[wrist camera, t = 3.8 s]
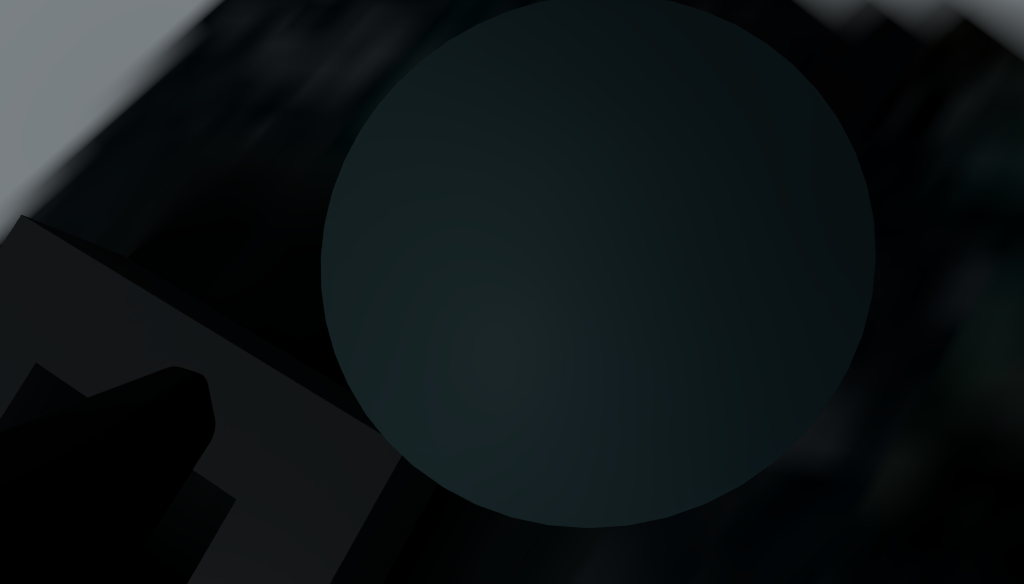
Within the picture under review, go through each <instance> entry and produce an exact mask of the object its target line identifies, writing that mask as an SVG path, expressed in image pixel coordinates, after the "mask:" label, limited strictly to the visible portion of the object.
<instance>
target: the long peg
mask: <svg viewBox="0 0 1024 584" xmlns="http://www.w3.org/2000/svg"><path fill="white" fill-rule="evenodd" d="M875 262H876V251H875V230H874V218H873V213H872V208H871V203H870V198H869V193H868V188H867V184H866V181H865V178H864V175H863V173H862V170H861V167H860V164H859V161H858V158H857V156H856V153H855V150H854V148H853V146H852V144H851V143H850V141H849V139H848V137H847V135H846V133H845V131H844V129H843V127H842V125H841V123H840V122H839V120H838V118H837V117H836V115H835V114H834V113H833V111H832V110H831V108H830V107H829V106H828V104H827V103H826V101H825V100H824V99H823V97H822V96H821V94H820V93H819V92H818V90H817V89H816V88H815V87H814V86H813V85H812V84H811V83H810V82H809V81H808V80H807V79H806V78H805V77H804V76H803V75H802V73H801V72H800V71H799V70H798V69H797V68H796V67H795V66H794V65H793V64H792V63H790V62H789V61H788V60H787V59H785V58H784V57H783V56H782V55H780V54H779V53H778V52H777V51H775V50H774V49H773V48H772V47H770V46H769V45H768V44H767V43H765V42H763V41H762V40H760V39H759V38H757V37H755V36H754V35H752V34H750V33H749V32H747V31H745V30H744V29H742V28H740V27H739V26H737V25H735V24H733V23H730V22H728V21H726V20H724V19H721V18H719V17H717V16H715V15H712V14H710V13H708V12H706V11H702V10H699V9H696V8H692V7H689V6H686V5H683V4H679V3H676V2H673V1H667V0H548V1H542V2H538V3H534V4H531V5H528V6H524V7H521V8H518V9H514V10H511V11H508V12H505V13H503V14H501V15H498V16H496V17H494V18H491V19H489V20H487V21H484V22H482V23H480V24H477V25H476V26H474V27H472V28H470V29H469V30H467V31H465V32H463V33H462V34H460V35H458V36H456V37H455V38H453V39H451V40H449V41H448V42H446V43H445V44H444V45H442V46H441V47H440V48H438V49H437V50H435V51H434V52H433V53H431V54H430V55H429V56H427V57H426V58H424V59H423V60H422V61H421V62H420V63H419V64H417V65H416V66H415V67H414V68H413V69H412V70H411V71H410V72H409V73H408V74H407V75H405V76H404V77H403V78H402V79H401V80H400V81H399V82H398V83H397V84H396V85H395V86H394V88H393V89H392V90H391V91H390V92H389V93H388V95H387V96H386V97H385V98H384V99H383V100H382V101H381V103H380V104H379V105H378V106H377V107H376V109H375V110H374V112H373V113H372V115H371V116H370V118H369V119H368V121H367V122H366V124H365V125H364V126H363V128H362V129H361V131H360V132H359V134H358V136H357V138H356V140H355V142H354V143H353V145H352V147H351V149H350V151H349V153H348V155H347V157H346V159H345V161H344V163H343V166H342V168H341V171H340V173H339V176H338V179H337V181H336V184H335V187H334V189H333V192H332V196H331V200H330V204H329V208H328V212H327V216H326V220H325V225H324V234H323V243H322V251H321V290H322V297H323V304H324V312H325V319H326V324H327V327H328V331H329V334H330V338H331V342H332V345H333V349H334V352H335V355H336V358H337V360H338V362H339V365H340V367H341V369H342V372H343V374H344V376H345V379H346V381H347V383H348V385H349V387H350V389H351V390H352V392H353V394H354V395H355V397H356V399H357V400H358V402H359V404H360V405H361V407H362V409H363V410H364V412H365V414H366V415H367V416H368V418H369V419H370V420H371V421H372V423H373V424H374V425H375V426H376V428H377V429H378V430H379V431H380V433H381V434H382V435H383V436H384V438H385V439H386V440H387V441H388V442H389V443H390V444H391V445H392V446H393V447H394V448H395V449H396V450H397V451H398V452H399V453H400V454H401V455H402V456H404V457H405V458H406V459H407V460H408V461H409V462H410V463H411V464H412V465H413V466H414V467H416V468H417V469H418V470H420V471H421V472H423V473H424V474H425V475H427V476H428V477H430V478H431V479H432V480H434V481H435V482H437V483H438V484H439V485H441V486H442V487H444V488H446V489H448V490H450V491H451V492H453V493H455V494H457V495H459V496H461V497H463V498H465V499H467V500H469V501H471V502H472V503H474V504H476V505H479V506H482V507H485V508H488V509H490V510H493V511H496V512H499V513H501V514H504V515H507V516H510V517H513V518H518V519H523V520H527V521H532V522H537V523H541V524H546V525H555V526H568V527H582V528H594V527H610V526H626V525H632V524H637V523H642V522H647V521H652V520H656V519H661V518H666V517H669V516H672V515H675V514H678V513H681V512H684V511H686V510H689V509H692V508H695V507H698V506H701V505H703V504H706V503H708V502H710V501H712V500H714V499H716V498H717V497H719V496H721V495H723V494H725V493H727V492H729V491H731V490H733V489H735V488H737V487H739V486H741V485H742V484H744V483H745V482H746V481H748V480H749V479H751V478H752V477H754V476H755V475H756V474H758V473H759V472H761V471H762V470H763V469H765V468H766V467H768V466H769V465H771V464H772V463H773V462H775V461H776V460H777V459H778V458H779V457H780V456H781V455H782V454H783V453H784V452H785V451H786V450H787V449H788V448H789V447H791V446H792V445H793V444H794V443H795V442H796V441H797V440H798V439H799V438H800V437H801V436H802V435H803V434H804V433H805V432H806V430H807V429H808V428H809V427H810V425H811V424H812V423H813V422H814V420H815V419H816V418H817V417H818V415H819V414H820V413H821V412H822V410H823V409H824V408H825V407H826V405H827V404H828V403H829V401H830V399H831V398H832V396H833V394H834V393H835V391H836V389H837V388H838V386H839V384H840V382H841V381H842V379H843V377H844V376H845V374H846V372H847V371H848V369H849V366H850V364H851V361H852V359H853V356H854V354H855V352H856V349H857V347H858V344H859V342H860V339H861V337H862V334H863V331H864V327H865V323H866V319H867V315H868V311H869V307H870V303H871V299H872V293H873V283H874V272H875Z"/></svg>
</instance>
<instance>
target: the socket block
mask: <svg viewBox="0 0 1024 584" xmlns="http://www.w3.org/2000/svg"><path fill="white" fill-rule="evenodd" d="M173 366H175V367H181V368H185V369H188V370H191V371H194V372H197V373H200V374H202V375H203V376H204V377H205V378H206V380H207V382H208V386H209V391H210V396H211V401H212V406H213V410H214V415H215V421H216V426H215V431H214V435H213V437H212V440H211V442H210V444H209V445H208V447H207V448H206V450H205V451H204V453H203V454H202V456H201V458H200V459H199V461H198V462H197V464H196V465H195V467H194V469H193V470H194V471H196V472H197V473H199V474H200V475H202V476H203V477H204V478H206V479H207V480H209V481H210V482H212V483H213V484H215V485H216V486H218V487H219V488H221V489H222V490H223V491H225V492H226V493H228V494H229V495H231V496H232V497H234V498H235V499H237V500H236V501H235V503H234V505H233V506H232V508H231V510H230V512H229V513H228V515H227V517H226V518H225V520H224V522H223V524H222V525H221V527H220V529H219V530H218V532H217V534H216V536H215V537H214V539H213V541H212V542H211V544H210V546H209V548H208V549H207V551H206V553H205V554H204V556H203V558H202V560H201V561H200V563H199V565H198V566H197V568H196V570H195V572H194V573H193V575H192V577H191V578H190V580H189V582H188V584H383V582H384V581H385V579H386V577H387V575H388V573H389V572H390V570H391V568H392V566H393V564H394V563H395V561H396V559H397V557H398V555H399V554H400V552H401V550H402V548H403V546H404V544H405V543H406V541H407V539H408V537H409V535H410V534H411V532H412V530H413V528H414V526H415V525H416V523H417V521H418V519H419V517H420V516H421V514H422V512H423V510H424V508H425V506H426V505H427V503H428V501H429V499H430V497H431V496H432V494H433V492H434V490H435V488H436V487H437V485H438V483H437V482H435V481H434V480H432V479H431V478H430V477H428V476H427V475H425V474H424V473H423V472H421V471H420V470H418V469H417V468H416V467H414V466H413V465H412V464H411V463H410V462H409V461H408V460H407V459H406V458H405V457H404V456H402V455H401V454H400V453H399V452H398V451H397V450H396V449H395V448H394V447H393V446H392V445H391V444H390V443H389V442H388V441H387V440H386V439H385V438H384V436H383V435H382V434H381V433H380V431H379V430H378V429H377V428H376V426H375V425H374V424H373V423H372V421H371V420H370V419H369V418H368V416H367V415H366V414H365V412H364V410H363V409H362V407H361V405H360V404H359V402H358V400H357V399H356V397H355V395H354V394H353V392H351V391H349V390H348V389H346V388H344V387H343V386H341V385H339V384H338V383H336V382H334V381H333V380H331V379H329V378H328V377H326V376H324V375H323V374H321V373H319V372H318V371H316V370H314V369H313V368H311V367H309V366H308V365H306V364H304V363H303V362H301V361H299V360H298V359H296V358H294V357H293V356H291V355H289V354H288V353H286V352H284V351H283V350H281V349H279V348H278V347H276V346H274V345H273V344H271V343H269V342H268V341H266V340H264V339H263V338H261V337H259V336H258V335H256V334H254V333H253V332H251V331H249V330H248V329H246V328H244V327H243V326H241V325H239V324H238V323H236V322H234V321H233V320H231V319H229V318H228V317H226V316H224V315H223V314H221V313H219V312H218V311H216V310H214V309H213V308H211V307H209V306H208V305H206V304H204V303H203V302H201V301H199V300H197V299H196V298H194V297H192V296H191V295H189V294H187V293H186V292H184V291H182V290H181V289H179V288H177V287H176V286H174V285H172V284H171V283H169V282H167V281H166V280H164V279H162V278H161V277H159V276H157V275H156V274H154V273H152V272H151V271H149V270H147V269H146V268H144V267H142V266H141V265H139V264H137V263H136V262H134V261H132V260H131V259H129V258H127V257H125V256H123V255H120V254H118V253H115V252H113V251H110V250H108V249H105V248H103V247H100V246H98V245H95V244H93V243H90V242H88V241H86V240H83V239H81V238H78V237H76V236H73V235H71V234H68V233H66V232H63V231H61V230H58V229H56V228H53V227H51V226H48V225H46V224H43V223H41V222H38V221H36V220H33V219H31V218H28V217H26V216H23V215H21V216H20V218H19V219H18V221H17V222H16V224H15V226H14V227H13V229H12V230H11V232H10V233H9V235H8V236H7V238H6V239H5V241H4V243H3V244H2V246H1V247H0V430H3V429H5V428H8V427H10V426H13V425H16V424H18V423H21V422H24V421H26V420H29V419H32V418H34V417H37V416H40V415H42V414H45V413H48V412H50V411H53V410H56V409H58V408H61V407H64V406H66V405H69V404H72V403H74V402H77V401H80V400H82V399H85V398H88V397H90V396H93V395H95V394H98V393H101V392H103V391H106V390H109V389H111V388H114V387H117V386H119V385H122V384H125V383H127V382H130V381H133V380H135V379H138V378H141V377H143V376H146V375H149V374H151V373H154V372H157V371H159V370H162V369H165V368H168V367H173Z"/></svg>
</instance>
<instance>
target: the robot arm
mask: <svg viewBox="0 0 1024 584" xmlns="http://www.w3.org/2000/svg"><path fill="white" fill-rule="evenodd" d="M215 426H216V421H215V415H214V410H213V406H212V401H211V396H210V391H209V386H208V382H207V380H206V378H205V377H204V376H203V375H202V374H200V373H197V372H194V371H191V370H188V369H185V368H181V367H175V366H173V367H168V368H165V369H162V370H159V371H157V372H154V373H151V374H149V375H146V376H143V377H141V378H138V379H135V380H133V381H130V382H127V383H125V384H122V385H119V386H117V387H114V388H111V389H109V390H106V391H103V392H101V393H98V394H95V395H93V396H90V397H88V398H85V399H82V400H80V401H77V402H74V403H72V404H69V405H66V406H64V407H61V408H58V409H56V410H53V411H50V412H48V413H45V414H42V415H40V416H37V417H34V418H32V419H29V420H26V421H24V422H21V423H18V424H16V425H13V426H10V427H8V428H5V429H3V430H0V584H114V583H115V582H116V581H117V579H118V578H119V577H120V575H121V574H122V573H123V572H124V570H125V569H126V568H127V567H128V565H129V564H130V563H131V561H132V560H133V559H134V557H135V556H136V555H137V553H138V552H139V551H140V549H141V548H142V547H143V545H144V544H145V543H146V541H147V540H148V538H149V537H150V535H151V534H152V532H153V531H154V529H155V528H156V526H157V525H158V523H159V522H160V520H161V519H162V517H163V515H164V514H165V512H166V511H167V509H168V508H169V506H170V505H171V503H172V501H173V500H174V498H175V497H176V495H177V494H178V492H179V490H180V489H181V487H182V486H183V484H184V483H185V481H186V479H187V478H188V476H189V475H190V473H191V472H192V470H193V469H194V467H195V465H196V464H197V462H198V461H199V459H200V458H201V456H202V454H203V453H204V451H205V450H206V448H207V447H208V445H209V444H210V442H211V440H212V437H213V435H214V431H215Z"/></svg>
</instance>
